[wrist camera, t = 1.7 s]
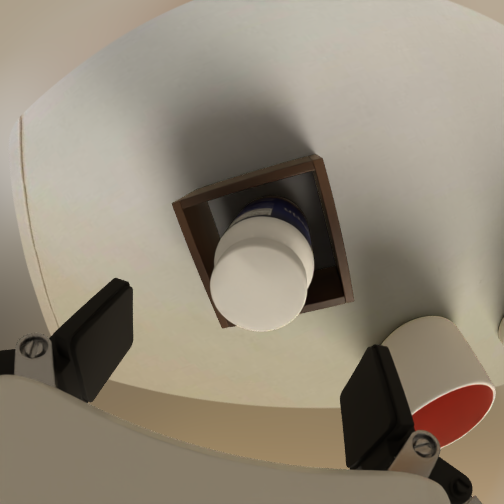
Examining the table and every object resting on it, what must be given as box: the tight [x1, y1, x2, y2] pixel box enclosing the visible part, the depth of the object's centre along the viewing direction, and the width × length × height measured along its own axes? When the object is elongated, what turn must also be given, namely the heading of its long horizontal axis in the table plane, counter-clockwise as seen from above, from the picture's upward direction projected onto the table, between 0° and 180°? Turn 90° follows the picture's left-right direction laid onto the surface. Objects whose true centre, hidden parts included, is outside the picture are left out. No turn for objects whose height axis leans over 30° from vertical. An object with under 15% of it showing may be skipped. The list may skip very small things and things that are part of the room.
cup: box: [381, 316, 496, 448], centre depth 21 cm, size 10×10×10 cm
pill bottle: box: [210, 196, 314, 331], centre depth 18 cm, size 6×6×10 cm
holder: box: [172, 154, 354, 328], centre depth 21 cm, size 10×10×5 cm
